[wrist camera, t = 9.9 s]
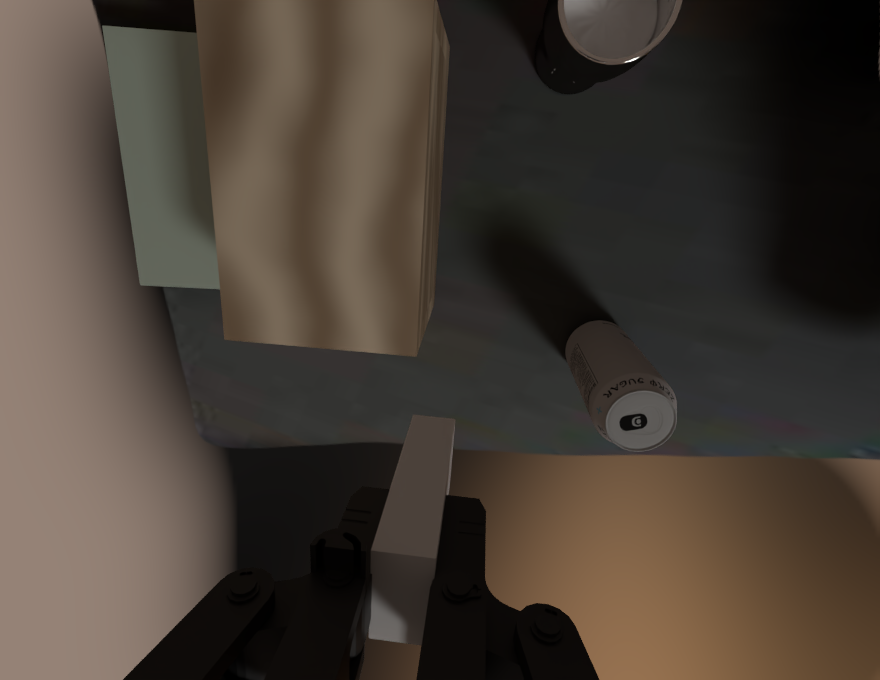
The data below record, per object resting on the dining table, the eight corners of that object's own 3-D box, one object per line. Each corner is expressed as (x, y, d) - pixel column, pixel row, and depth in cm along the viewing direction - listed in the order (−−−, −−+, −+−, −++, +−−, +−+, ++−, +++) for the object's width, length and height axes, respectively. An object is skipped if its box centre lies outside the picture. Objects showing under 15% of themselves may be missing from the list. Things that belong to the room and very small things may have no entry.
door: (256, 37, 40) (101, 25, 39) (270, 291, 47) (140, 285, 46) (264, 43, 42) (118, 32, 41) (277, 286, 49) (152, 279, 48)
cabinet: (449, 46, 41) (434, -9, 28) (434, 303, 48) (416, 356, 35) (283, 37, 42) (192, -20, 29) (293, 292, 49) (224, 339, 36)
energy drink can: (630, 369, 49) (689, 452, 35) (568, 379, 50) (602, 464, 36) (623, 311, 47) (682, 375, 33) (559, 323, 48) (591, 390, 34)
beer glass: (531, 4, 40) (559, -84, 25) (621, 2, 39) (700, -88, 25) (526, 100, 42) (548, 69, 28) (610, 100, 41) (677, 68, 27)
